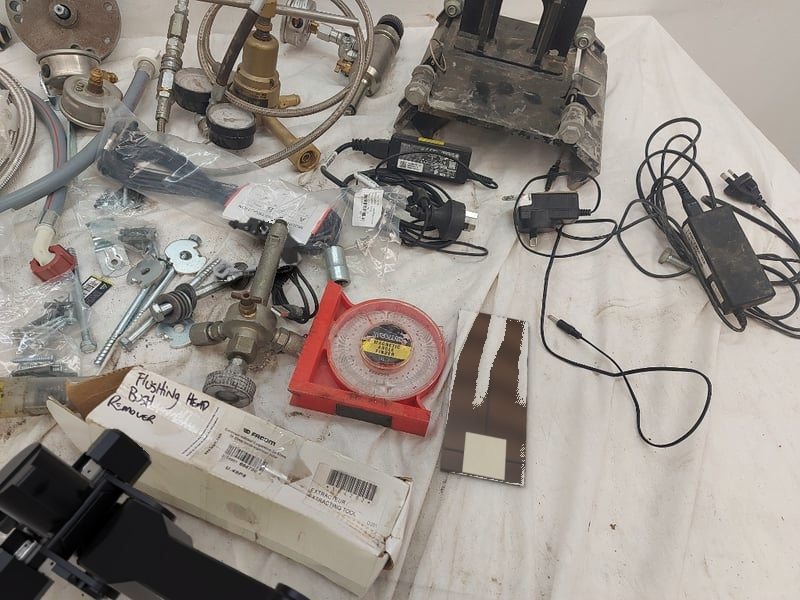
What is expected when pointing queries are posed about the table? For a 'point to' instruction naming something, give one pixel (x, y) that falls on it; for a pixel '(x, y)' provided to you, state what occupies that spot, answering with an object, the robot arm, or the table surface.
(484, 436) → the board
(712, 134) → the table surface
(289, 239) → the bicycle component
